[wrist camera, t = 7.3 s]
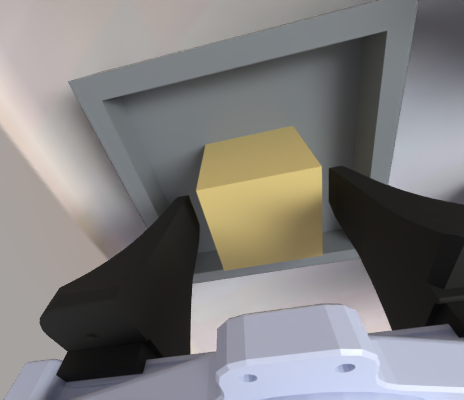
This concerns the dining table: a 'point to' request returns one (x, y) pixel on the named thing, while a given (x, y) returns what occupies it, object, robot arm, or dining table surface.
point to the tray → (258, 111)
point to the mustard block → (262, 198)
